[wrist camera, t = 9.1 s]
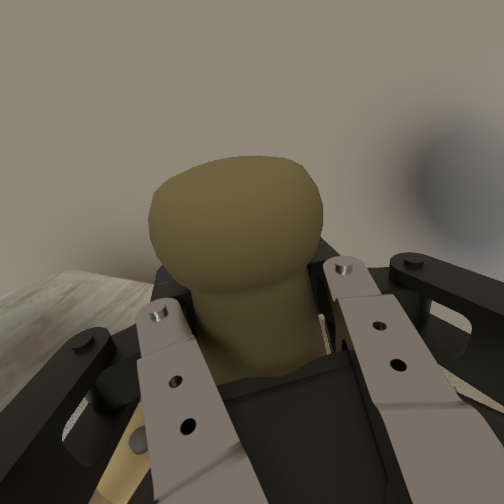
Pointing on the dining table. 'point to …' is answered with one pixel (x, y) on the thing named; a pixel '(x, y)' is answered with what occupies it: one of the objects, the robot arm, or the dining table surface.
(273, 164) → the cork
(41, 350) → the dining table surface
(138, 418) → the board
